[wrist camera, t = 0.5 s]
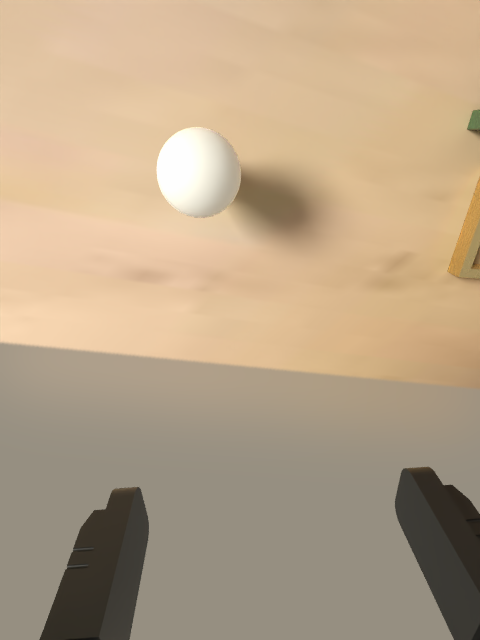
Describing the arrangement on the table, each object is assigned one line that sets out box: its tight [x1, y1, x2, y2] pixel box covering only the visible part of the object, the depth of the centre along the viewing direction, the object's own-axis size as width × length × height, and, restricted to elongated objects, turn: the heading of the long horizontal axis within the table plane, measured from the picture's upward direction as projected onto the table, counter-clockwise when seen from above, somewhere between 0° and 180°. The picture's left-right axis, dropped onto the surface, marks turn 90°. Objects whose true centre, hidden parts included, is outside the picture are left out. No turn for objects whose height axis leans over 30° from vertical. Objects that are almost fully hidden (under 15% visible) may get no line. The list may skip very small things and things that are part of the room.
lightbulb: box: [157, 127, 241, 218], centre depth 28 cm, size 6×6×11 cm
